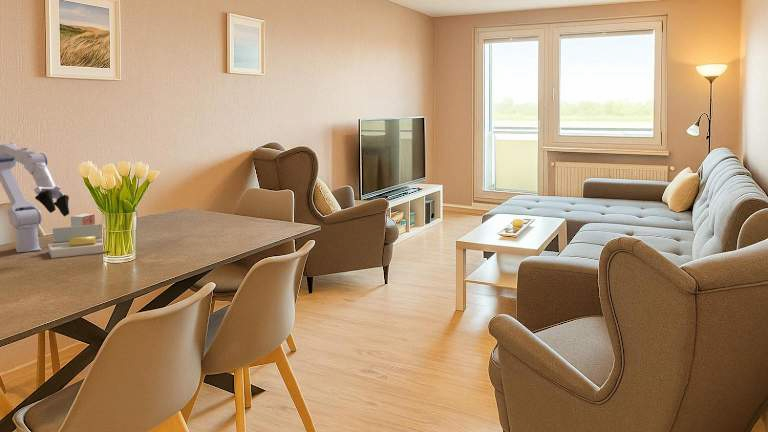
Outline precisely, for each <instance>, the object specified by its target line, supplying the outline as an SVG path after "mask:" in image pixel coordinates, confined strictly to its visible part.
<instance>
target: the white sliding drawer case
mask: <svg viewBox="0 0 768 432" xmlns="http://www.w3.org/2000/svg"><path fill="white" fill-rule="evenodd" d="M102 239H103V238H100V239H97V240H96V244H88V245H78V246H69V242H65V243H55V244H53V243H50V244H48V243H47V252H48V254H49V256H50V258H52V259H55V258H65V257H72V256H73V257H74V256H84V255H85V256H86V255H93V254H104V253H103V244H102Z"/></svg>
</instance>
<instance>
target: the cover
mask: <svg viewBox="0 0 768 432" xmlns="http://www.w3.org/2000/svg"><path fill="white" fill-rule="evenodd" d="M99 228H100V227H99V224H95V225H86V226H74V227H71V226H65V227H52V238H53V239H52V240H53V242H52V244H57V243H67V242H69V241H68V239H69V238H78V237H89V236H95V238H96V240H98V239H101V237H100V231H99Z"/></svg>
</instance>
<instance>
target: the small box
mask: <svg viewBox="0 0 768 432" xmlns="http://www.w3.org/2000/svg"><path fill="white" fill-rule="evenodd" d="M95 217H96V216H95V213H80V214H77V215H72V216H70V227H74V226H86V225H96V219H95Z"/></svg>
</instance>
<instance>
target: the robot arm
mask: <svg viewBox="0 0 768 432" xmlns="http://www.w3.org/2000/svg"><path fill="white" fill-rule="evenodd" d="M16 163H19V164H20V165H23V167H24V169H25V170H26V171H27V172H28V174H29V175H31V176H32V178H33V180H34V182H35V184H36V187H35V188H34V189H33V191H34V192H35V194H36V196H35V197H34V199H35V200H36V201H37V202H39V203H40V204H42V206H43V207H44V208H45V209H46V210H47V211H48V212H49V213H50V214H51V213H53V212H55V211H57V210H56V208H58V210H59V212H60V213H61V215H62V216H63V217H66V216H68V215H70V209H69V200H70V198H69V195H67V194H64V193H63V192H62V191H61V189H62V188H61V186H60V185H56V182H55V181H54V178H53V176H52V174H51V171H50V170H49V168H48V158H47V156H46V154H45V153H43V152H39V153H37V152H36V153H35V151H33V150H30V149H28V147H26V146H25V147H21V148H20V147H17V144H16V143H14V142H9V143H0V184H1V185H2V188H3V190H4V191H5V194H6V195H7V198H8V200H9V202H10V204H11V206H10V208H9V209H8V211H7V216H8V220H9V224H10V225H11V226H12V227H13V228H14V229H15V235H16V246H15V250H16V252H17V253H26V252H28V253H29V252H37V251H41V250H42V248H41V246H40V244H39V243H40V242H39V231H38V227H40V224H41V223H42V220H43V214H42V212H41V210H40V209H38V208H37V206H36V204H35V203H33V202H29V201H27V199H26V197H25V195H24V193H23V191H22V189H21V187H20V185H19V182H18V181H17V179H16V177H15V175H14V173H13V171H12V168H14V167H15V166H16V165H17V164H16ZM54 199H56V200H55V202H54Z"/></svg>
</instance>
